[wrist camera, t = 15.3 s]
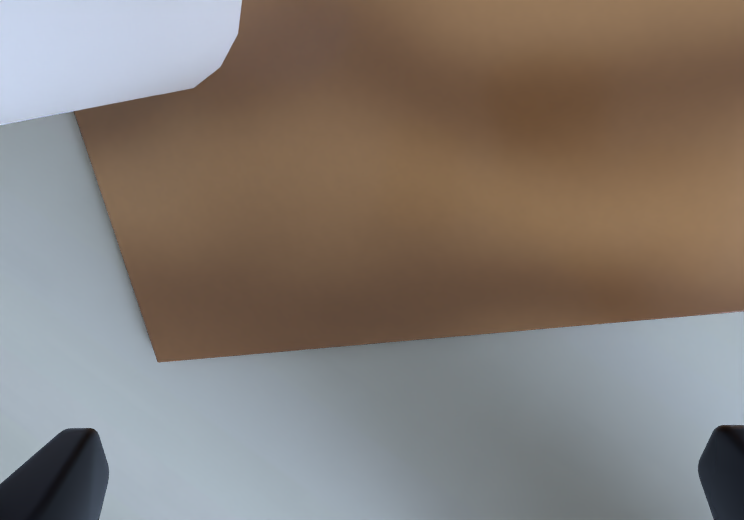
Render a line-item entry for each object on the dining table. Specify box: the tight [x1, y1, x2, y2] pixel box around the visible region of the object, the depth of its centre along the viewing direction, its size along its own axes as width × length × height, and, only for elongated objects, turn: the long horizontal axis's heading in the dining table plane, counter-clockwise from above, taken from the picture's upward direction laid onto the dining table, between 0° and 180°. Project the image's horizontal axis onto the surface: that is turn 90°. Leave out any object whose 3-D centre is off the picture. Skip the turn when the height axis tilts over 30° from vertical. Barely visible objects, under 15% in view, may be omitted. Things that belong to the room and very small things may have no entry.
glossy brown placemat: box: [74, 0, 744, 362], centre depth 17 cm, size 16×20×1 cm
